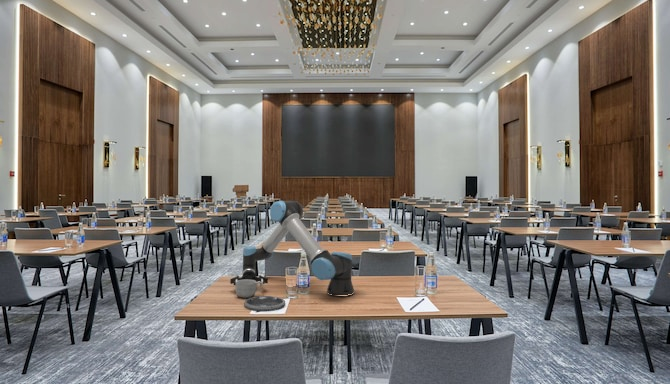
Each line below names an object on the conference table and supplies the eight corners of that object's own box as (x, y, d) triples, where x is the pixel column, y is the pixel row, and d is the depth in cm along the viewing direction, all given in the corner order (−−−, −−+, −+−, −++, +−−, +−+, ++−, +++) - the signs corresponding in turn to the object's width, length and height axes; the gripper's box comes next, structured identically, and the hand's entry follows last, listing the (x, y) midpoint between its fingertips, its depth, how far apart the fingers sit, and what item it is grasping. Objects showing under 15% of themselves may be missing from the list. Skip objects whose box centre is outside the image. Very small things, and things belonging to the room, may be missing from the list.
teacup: (234, 299, 214) (235, 284, 213) (235, 292, 224) (236, 278, 224) (262, 299, 217) (263, 284, 216) (261, 292, 227) (262, 278, 227)
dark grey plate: (291, 302, 212) (291, 298, 212) (274, 313, 193) (274, 309, 193) (256, 298, 218) (256, 294, 218) (236, 308, 199) (236, 304, 199)
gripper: (270, 281, 246) (272, 290, 225) (226, 282, 241) (225, 291, 220) (270, 269, 246) (273, 276, 225) (227, 269, 241) (225, 277, 220)
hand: (249, 284), depth 223 cm, fingers closed on teacup, 13 cm apart
